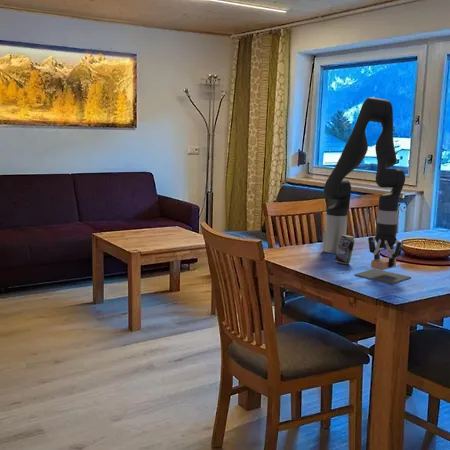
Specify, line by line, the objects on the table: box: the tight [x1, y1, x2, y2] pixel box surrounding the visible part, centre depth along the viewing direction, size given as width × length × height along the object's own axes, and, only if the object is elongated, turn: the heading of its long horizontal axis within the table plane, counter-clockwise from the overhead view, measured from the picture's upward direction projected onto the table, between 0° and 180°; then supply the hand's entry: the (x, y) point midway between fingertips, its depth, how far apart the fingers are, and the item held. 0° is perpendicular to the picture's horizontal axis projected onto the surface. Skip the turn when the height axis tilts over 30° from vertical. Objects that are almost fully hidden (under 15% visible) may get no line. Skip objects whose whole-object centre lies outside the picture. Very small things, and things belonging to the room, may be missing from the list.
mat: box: [354, 268, 412, 285], centre depth 219 cm, size 16×14×1 cm
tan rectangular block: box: [370, 257, 397, 271], centre depth 218 cm, size 9×5×3 cm, turn 131°
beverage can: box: [335, 234, 355, 265], centre depth 239 cm, size 6×7×12 cm
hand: (383, 265), depth 219 cm, fingers closed on tan rectangular block, 5 cm apart
